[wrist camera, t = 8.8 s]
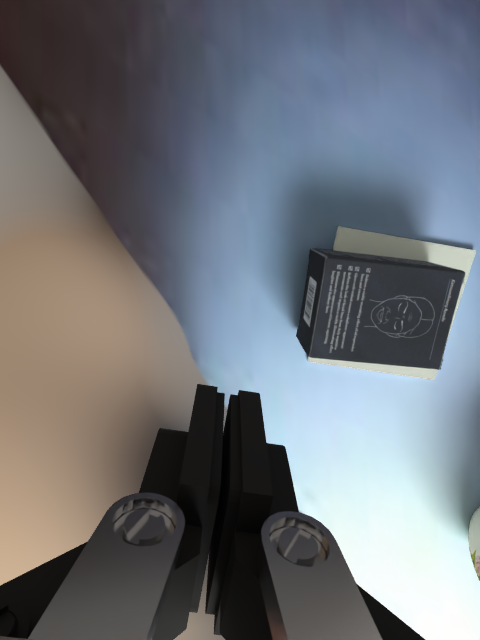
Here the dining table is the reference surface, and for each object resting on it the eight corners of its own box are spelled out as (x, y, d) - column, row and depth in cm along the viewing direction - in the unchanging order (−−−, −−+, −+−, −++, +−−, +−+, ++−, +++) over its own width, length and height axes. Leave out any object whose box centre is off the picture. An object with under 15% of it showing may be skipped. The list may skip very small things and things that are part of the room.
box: (294, 335, 36) (410, 348, 37) (306, 358, 31) (442, 372, 32) (309, 245, 34) (432, 260, 35) (325, 253, 29) (469, 271, 30)
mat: (337, 226, 34) (339, 226, 34) (473, 250, 35) (476, 250, 35) (307, 359, 38) (308, 361, 37) (432, 378, 39) (434, 380, 38)
